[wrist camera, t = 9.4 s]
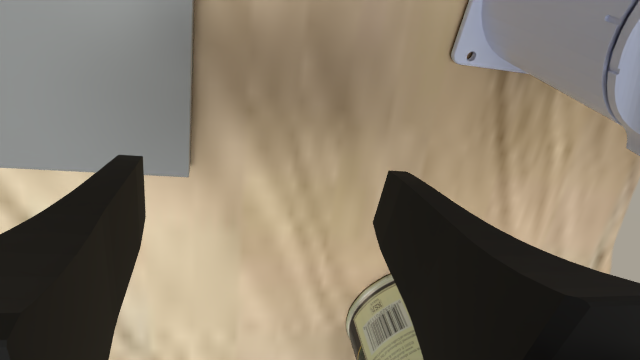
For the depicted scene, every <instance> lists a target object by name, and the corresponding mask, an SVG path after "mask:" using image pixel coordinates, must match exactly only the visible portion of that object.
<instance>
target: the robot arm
mask: <svg viewBox="0 0 640 360" xmlns="http://www.w3.org/2000/svg"><path fill="white" fill-rule="evenodd" d="M470 52H473V54H472V56H471V58H469V59H467V55H468V53H470ZM451 58H452V60H453V61H454V62H455V63H457V64H460V65H468V66H475V67H482V68H489V69H497V70H504V71H511V72H519V73H526V74H530V75H532V76H534V77H536V78H537V79H539V80H541V81H543V82H544V83H546V84H548V85H550V86H552V87H553V88H555V89H557V90H559V91H561V92H562V93H564V94H566V95H568V96H570V97H571V98H573V99H575V100H577V101H579V102H580V103H582V104H584V105H586V106H587V107H589V108H591V109H593V110H595V111H596V112H598V113H600V114H602V115H604V116H605V117H607V118H609V119H611V120H613V121H614V122H616V123H618V124H620V125H621V126H623V127H624V128H625V130H626V133H627V146H626V147H627V149H629V150H631V151H632V152H634V153H635V154H637V155H639V156H640V0H469V2H468V5H467V8H466V11H465V14H464V17H463V20H462V23H461V26H460V29H459V32H458V35H457V38H456V41H455V44H454V47H453V49H452V53H451ZM144 223H145V194H144V170H143V156H133V155H117V156H116V157H115V158H114V159H112V160H111V161H110V162H109V163H107V164H106V165H105V166H104V167H102V168H101V169H100V170H99V171H97V172H96V173H95V174H94V175H93V176H91V177H90V178H89V179H88V180H86V181H85V182H84V183H82V184H81V185H80V186H78V187H77V188H76V189H74V190H73V191H72V192H70V193H69V194H67V195H66V196H64V197H63V198H62V199H60V200H59V201H57V202H56V203H54V204H53V205H51V206H50V207H48V208H47V209H45V210H44V211H42V212H40V213H39V214H37V215H35V216H34V217H32V218H30V219H28V220H27V221H25V222H23V223H21V224H19V225H17V226H16V227H14V228H12V229H10V230H8V231H6V232H4V233H2V234H0V360H108V359H109V354H110V349H111V344H112V339H113V334H114V330H115V326H116V323H117V319H118V315H119V312H120V309H121V306H122V303H123V300H124V297H125V294H126V290H127V287H128V284H129V281H130V278H131V275H132V272H133V269H134V266H135V262H136V259H137V256H138V253H139V250H140V246H141V240H142V235H143V229H144ZM373 225H374V229H375V233H376V236H377V240H378V243H379V247H380V250H381V252H382V255H383V257H384V259H385V261H386V264H387V266H388V268H389V271H390V273H391V275H392V277H393V279H394V282H395V284H396V286H397V288H398V290H399V293H400V295H401V297H402V299H403V301H404V304H405V306H406V308H407V311H408V313H409V316H410V318H411V321H412V324H413V327H414V330H415V333H416V337H417V340H418V343H419V346H420V349H421V353H422V356H423V360H640V283H637V282H634V281H630V280H627V279H623V278H620V277H616V276H613V275H609V274H606V273H602V272H599V271H596V270H593V269H590V268H587V267H584V266H581V265H579V264H576V263H573V262H570V261H567V260H565V259H562V258H560V257H557V256H554V255H552V254H550V253H547V252H545V251H543V250H540V249H538V248H536V247H533V246H531V245H529V244H527V243H525V242H522V241H520V240H518V239H516V238H514V237H512V236H510V235H508V234H507V233H505V232H503V231H501V230H499V229H497V228H495V227H493V226H492V225H490V224H488V223H486V222H485V221H483V220H481V219H480V218H478V217H476V216H475V215H473V214H471V213H470V212H468V211H467V210H465V209H464V208H462V207H461V206H459V205H457V204H456V203H454V202H453V201H451V200H450V199H448V198H447V197H446V196H444V195H443V194H441V193H440V192H438V191H437V190H435V189H434V188H432V187H431V186H429V185H428V184H426V183H425V182H423V181H422V180H420V179H419V178H417V177H415V176H414V175H412V174H410V173H408V172H403V171H388V175H387V178H386V181H385V184H384V188H383V191H382V194H381V198H380V201H379V204H378V207H377V211H376V214H375V217H374V220H373Z"/></svg>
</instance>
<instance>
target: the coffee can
mask: <svg viewBox="0 0 640 360" xmlns="http://www.w3.org/2000/svg"><path fill="white" fill-rule="evenodd" d="M346 329H347V333H348V336H349V338H350V340H351V343H352V347H353V350H354V353H355V357H356V360H423V356H422V353H421V349H420V346H419V343H418V340H417V337H416V333H415V330H414V327H413V324H412V321H411V318H410V316H409V313H408V311H407V308H406V306H405V304H404V301H403V299H402V297H401V295H400V293H399V290H398V288H397V286H396V284H395V282H394V279H393V277H392V275H391V274H390V275H388V276H385V277H384V278H382V279H380V280H379V281H377V282H376V283H374V284H372V285H371V286H370V287H369V288H367V289H366V290H365V291H364V292H363V293H362V294H361V295H360V296H359V297H358V298H357V299H356V301H355V302H354V304H353V305H352V307H351V308H350V310H349V314H348V316H347V321H346Z"/></svg>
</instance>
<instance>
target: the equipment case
mask: <svg viewBox="0 0 640 360" xmlns="http://www.w3.org/2000/svg"><path fill="white" fill-rule="evenodd" d="M193 26H194V0H0V168H19V169H39V170H58V171H78V172H97V171H99V170H100V169H101V168H102V167H104V166H105V165H106V164H107V163H109V162H110V161H111V160H112V159H114V158H115V157H116V156H117V155H133V156H143V170H144V175H156V176H175V177H189V171H190V156H191V112H192V69H193Z"/></svg>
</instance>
